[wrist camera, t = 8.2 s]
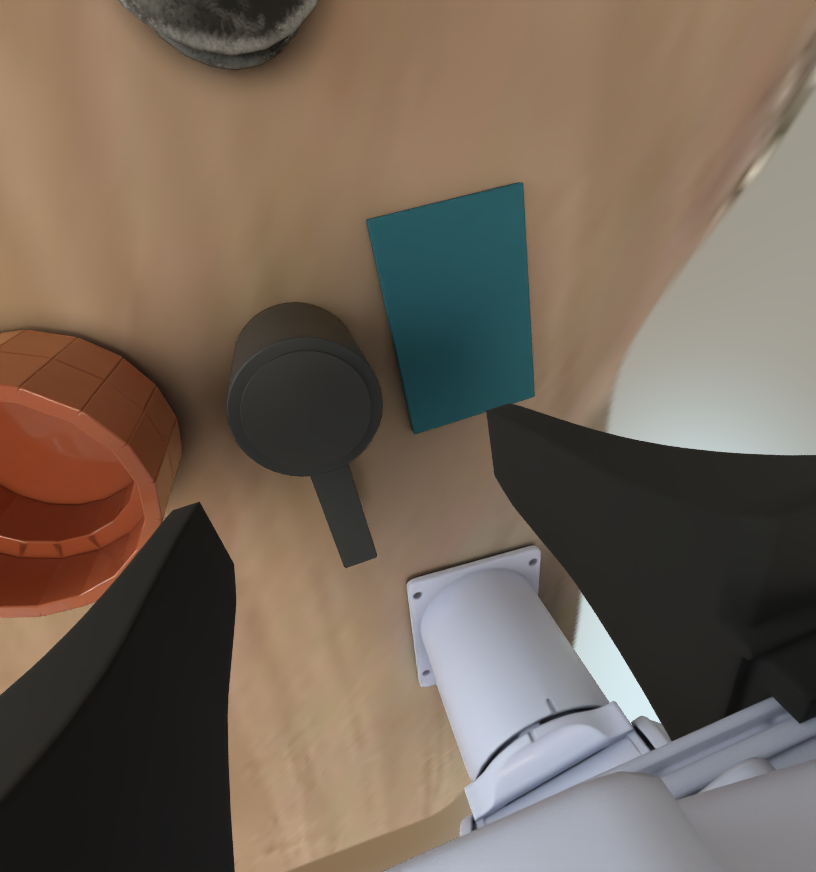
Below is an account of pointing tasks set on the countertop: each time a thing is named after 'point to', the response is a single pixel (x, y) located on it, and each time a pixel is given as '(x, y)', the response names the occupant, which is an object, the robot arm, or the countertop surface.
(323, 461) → the scoop
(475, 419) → the countertop surface
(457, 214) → the cloth
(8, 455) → the bowl
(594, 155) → the countertop surface
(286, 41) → the grey tall lumpy piece
